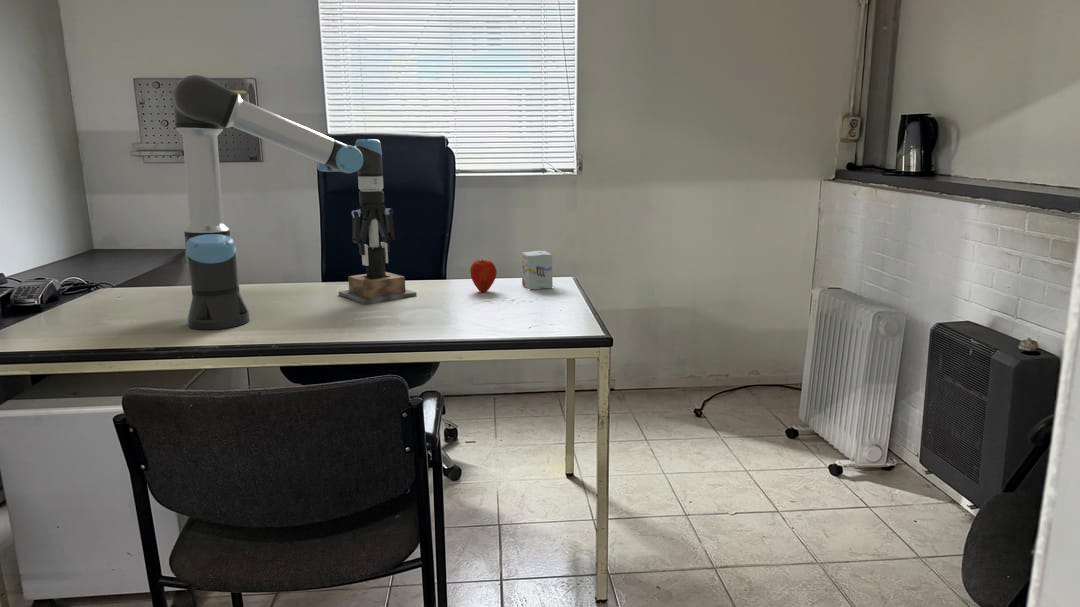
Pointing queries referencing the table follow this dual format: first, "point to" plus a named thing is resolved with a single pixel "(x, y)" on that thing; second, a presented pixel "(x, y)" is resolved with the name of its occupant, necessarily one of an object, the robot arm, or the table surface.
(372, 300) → the holder
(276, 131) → the robot arm
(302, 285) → the table surface
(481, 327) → the table surface
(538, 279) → the ink box
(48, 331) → the table surface
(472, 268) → the red strawberry
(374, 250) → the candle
